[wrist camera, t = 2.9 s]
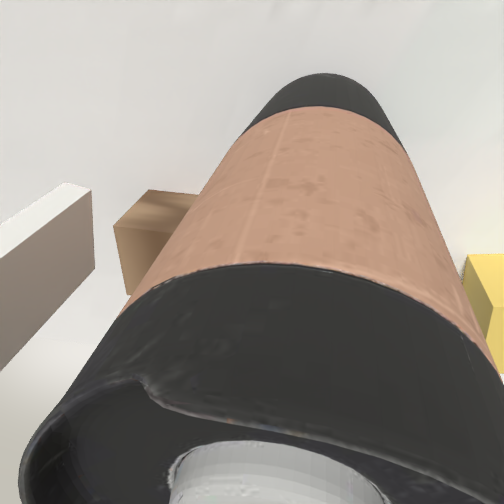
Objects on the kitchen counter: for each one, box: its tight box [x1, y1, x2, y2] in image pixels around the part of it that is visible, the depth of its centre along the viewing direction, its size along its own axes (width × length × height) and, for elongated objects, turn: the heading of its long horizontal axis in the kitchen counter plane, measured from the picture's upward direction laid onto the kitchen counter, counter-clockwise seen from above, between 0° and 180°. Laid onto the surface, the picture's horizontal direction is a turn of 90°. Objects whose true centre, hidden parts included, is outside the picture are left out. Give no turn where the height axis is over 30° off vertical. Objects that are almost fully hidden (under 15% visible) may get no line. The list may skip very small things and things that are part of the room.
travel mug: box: [18, 73, 504, 504], centre depth 14 cm, size 8×8×20 cm
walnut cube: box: [113, 190, 199, 295], centre depth 25 cm, size 5×5×5 cm
